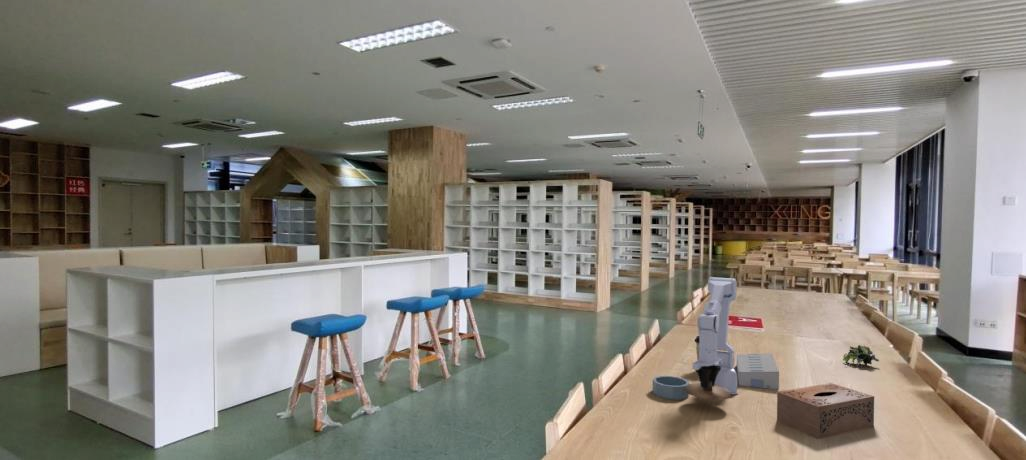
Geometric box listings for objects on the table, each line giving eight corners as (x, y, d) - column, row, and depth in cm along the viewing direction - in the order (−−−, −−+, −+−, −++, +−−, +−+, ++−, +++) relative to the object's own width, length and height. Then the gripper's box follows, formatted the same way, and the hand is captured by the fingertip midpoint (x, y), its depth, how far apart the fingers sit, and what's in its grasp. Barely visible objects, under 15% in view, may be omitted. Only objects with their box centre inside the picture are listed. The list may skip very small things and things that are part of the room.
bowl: (680, 388, 198) (680, 375, 198) (694, 399, 185) (694, 386, 185) (648, 388, 197) (648, 376, 197) (660, 400, 184) (660, 386, 184)
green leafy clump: (864, 376, 233) (884, 358, 228) (856, 376, 226) (876, 357, 222) (843, 358, 241) (861, 340, 236) (835, 357, 234) (853, 338, 230)
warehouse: (736, 366, 230) (737, 350, 230) (771, 370, 224) (772, 353, 224) (738, 386, 202) (738, 367, 202) (778, 390, 196) (778, 371, 196)
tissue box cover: (817, 439, 152) (818, 406, 152) (776, 422, 165) (777, 391, 165) (873, 427, 161) (874, 396, 161) (830, 411, 175) (831, 383, 175)
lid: (719, 386, 185) (720, 375, 185) (738, 400, 170) (738, 388, 170) (679, 385, 185) (679, 374, 185) (694, 399, 170) (694, 387, 170)
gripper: (704, 353, 170) (704, 393, 170) (730, 348, 178) (730, 386, 178) (687, 349, 176) (687, 387, 176) (713, 343, 184) (712, 380, 184)
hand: (707, 386), depth 177 cm, fingers closed on lid, 3 cm apart
